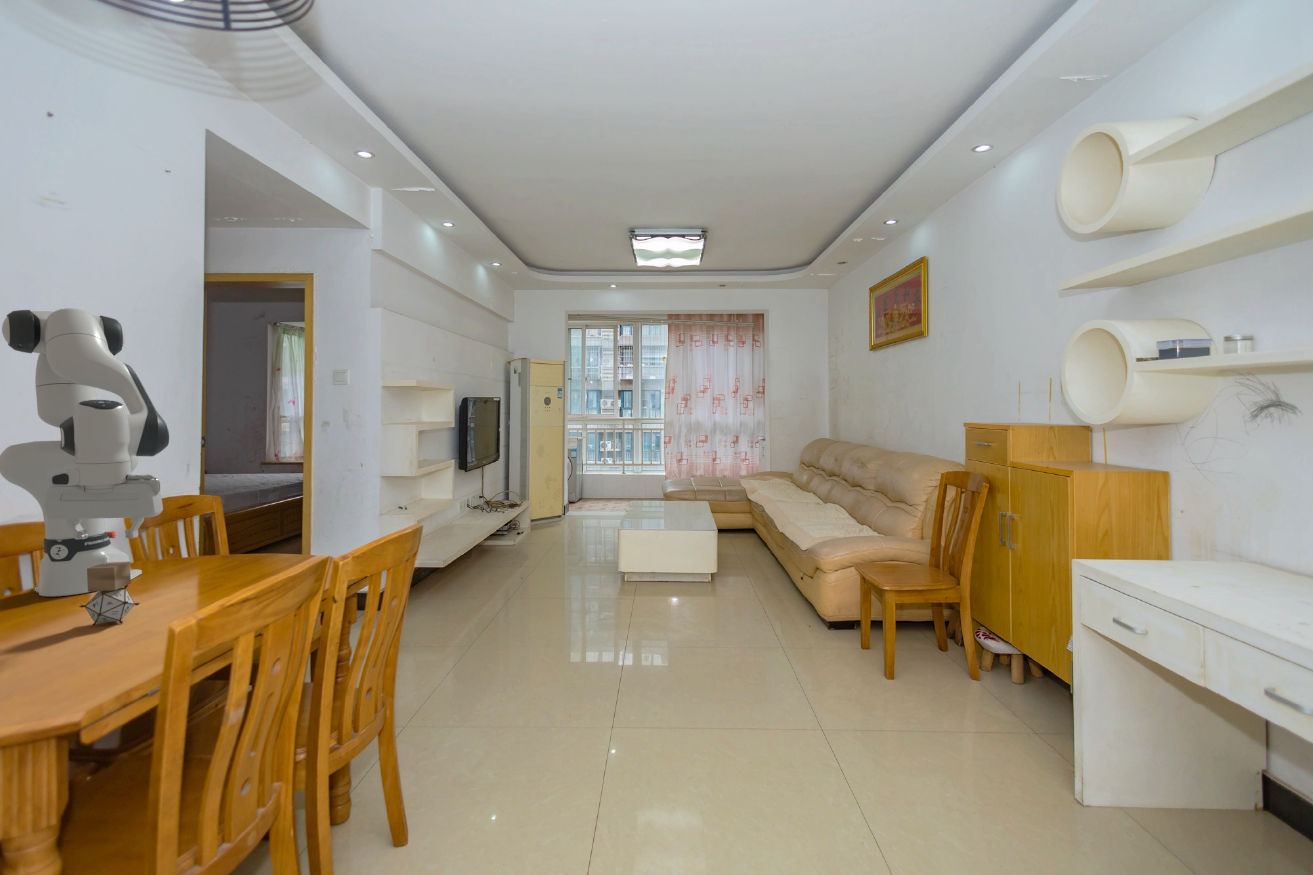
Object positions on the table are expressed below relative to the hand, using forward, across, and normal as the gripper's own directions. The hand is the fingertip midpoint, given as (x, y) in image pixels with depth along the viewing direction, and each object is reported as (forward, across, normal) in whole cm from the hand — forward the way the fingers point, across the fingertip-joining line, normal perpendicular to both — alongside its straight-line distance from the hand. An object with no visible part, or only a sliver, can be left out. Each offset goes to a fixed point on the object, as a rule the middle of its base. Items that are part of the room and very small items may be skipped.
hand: (106, 538), depth 129 cm
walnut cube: (+11, 0, 0) cm, 11 cm away
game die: (+19, -1, +1) cm, 19 cm away
